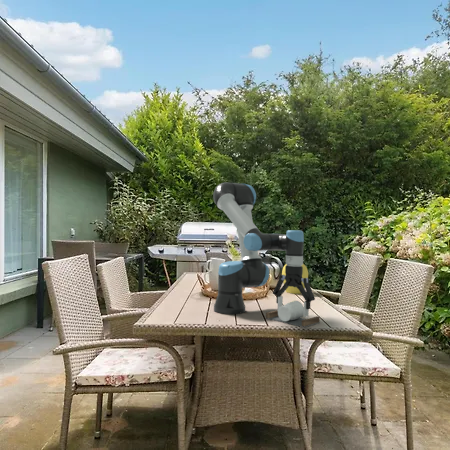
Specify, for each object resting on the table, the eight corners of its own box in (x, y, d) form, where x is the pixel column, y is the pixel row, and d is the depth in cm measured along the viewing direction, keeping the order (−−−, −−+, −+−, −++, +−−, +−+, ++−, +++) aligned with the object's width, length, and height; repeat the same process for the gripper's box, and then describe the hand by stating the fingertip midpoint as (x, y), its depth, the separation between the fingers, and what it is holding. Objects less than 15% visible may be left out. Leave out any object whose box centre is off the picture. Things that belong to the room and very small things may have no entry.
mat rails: (265, 317, 181) (266, 312, 181) (281, 313, 190) (281, 309, 190) (304, 326, 167) (304, 321, 167) (319, 321, 176) (319, 316, 176)
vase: (292, 289, 265) (294, 246, 265) (313, 293, 253) (314, 248, 253) (276, 291, 255) (277, 246, 254) (296, 295, 242) (297, 248, 242)
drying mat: (265, 318, 181) (265, 317, 181) (281, 314, 190) (281, 313, 190) (304, 327, 167) (304, 326, 167) (319, 322, 176) (319, 321, 176)
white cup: (294, 317, 171) (307, 313, 178) (285, 301, 174) (298, 297, 181) (282, 326, 175) (295, 321, 183) (273, 309, 178) (286, 305, 185)
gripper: (266, 263, 184) (264, 310, 184) (314, 268, 167) (313, 320, 167) (275, 262, 190) (274, 307, 190) (323, 267, 173) (322, 317, 173)
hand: (292, 313), depth 179 cm, fingers open, 13 cm apart
